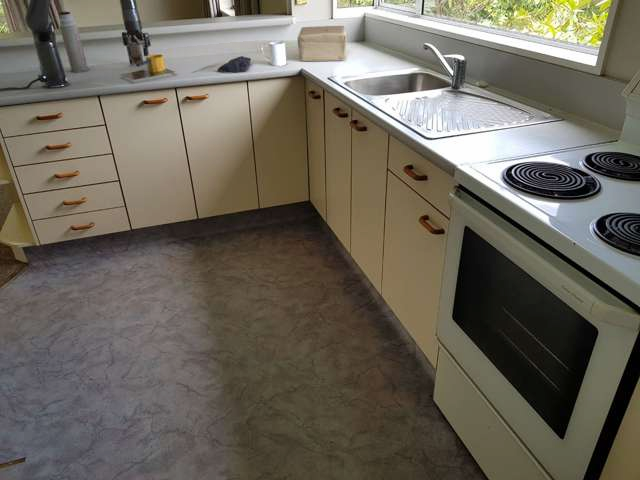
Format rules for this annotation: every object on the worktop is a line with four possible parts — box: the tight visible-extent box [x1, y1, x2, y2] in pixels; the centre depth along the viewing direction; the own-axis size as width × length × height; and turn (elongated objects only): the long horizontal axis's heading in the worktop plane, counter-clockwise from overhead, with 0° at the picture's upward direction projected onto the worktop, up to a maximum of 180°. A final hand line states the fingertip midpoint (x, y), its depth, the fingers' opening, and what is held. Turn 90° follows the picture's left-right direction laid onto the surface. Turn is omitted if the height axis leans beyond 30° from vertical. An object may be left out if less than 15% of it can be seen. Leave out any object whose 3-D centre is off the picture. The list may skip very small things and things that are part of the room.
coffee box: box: [126, 37, 150, 66], centre depth 267 cm, size 9×6×16 cm
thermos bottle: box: [58, 11, 89, 73], centre depth 257 cm, size 8×8×28 cm
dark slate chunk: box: [217, 55, 252, 73], centre depth 260 cm, size 15×22×5 cm
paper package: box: [297, 25, 347, 62], centre depth 275 cm, size 27×26×14 cm
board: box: [120, 68, 175, 81], centre depth 250 cm, size 22×16×2 cm
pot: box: [135, 54, 167, 72], centre depth 250 cm, size 17×8×6 cm, turn 157°
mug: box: [260, 41, 287, 67], centre depth 263 cm, size 12×8×10 cm, turn 87°
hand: (139, 55), depth 242 cm, fingers open, 8 cm apart
